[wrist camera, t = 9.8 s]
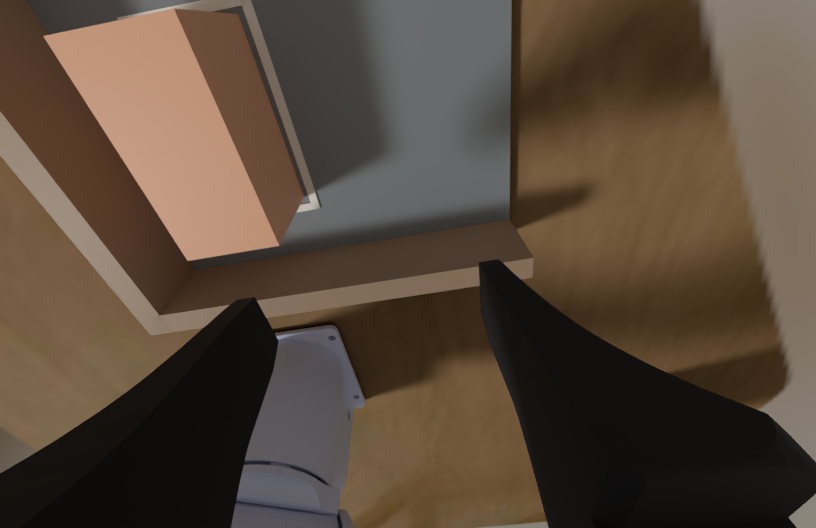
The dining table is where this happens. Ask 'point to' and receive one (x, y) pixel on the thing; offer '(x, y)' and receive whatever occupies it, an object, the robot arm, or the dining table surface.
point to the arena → (293, 154)
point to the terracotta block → (189, 125)
